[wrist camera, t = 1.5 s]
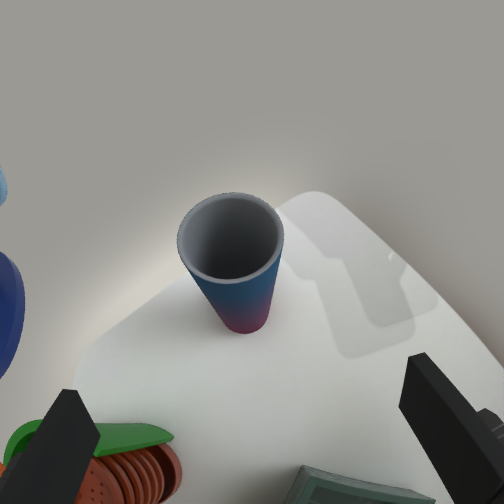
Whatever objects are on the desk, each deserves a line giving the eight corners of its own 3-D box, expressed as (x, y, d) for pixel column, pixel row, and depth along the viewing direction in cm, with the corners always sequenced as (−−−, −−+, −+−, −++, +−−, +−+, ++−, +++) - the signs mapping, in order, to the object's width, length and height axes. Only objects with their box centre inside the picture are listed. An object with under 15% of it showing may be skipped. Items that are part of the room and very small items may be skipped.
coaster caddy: (182, 516, 22) (85, 606, 4) (103, 499, 22) (-33, 534, 5) (183, 428, 27) (66, 436, 9) (104, 416, 27) (-44, 389, 10)
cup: (224, 351, 31) (192, 300, 18) (204, 294, 34) (166, 211, 21) (287, 327, 32) (302, 260, 19) (262, 272, 35) (259, 180, 22)
